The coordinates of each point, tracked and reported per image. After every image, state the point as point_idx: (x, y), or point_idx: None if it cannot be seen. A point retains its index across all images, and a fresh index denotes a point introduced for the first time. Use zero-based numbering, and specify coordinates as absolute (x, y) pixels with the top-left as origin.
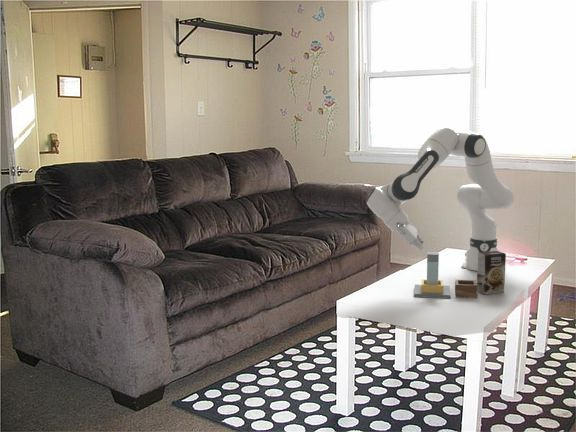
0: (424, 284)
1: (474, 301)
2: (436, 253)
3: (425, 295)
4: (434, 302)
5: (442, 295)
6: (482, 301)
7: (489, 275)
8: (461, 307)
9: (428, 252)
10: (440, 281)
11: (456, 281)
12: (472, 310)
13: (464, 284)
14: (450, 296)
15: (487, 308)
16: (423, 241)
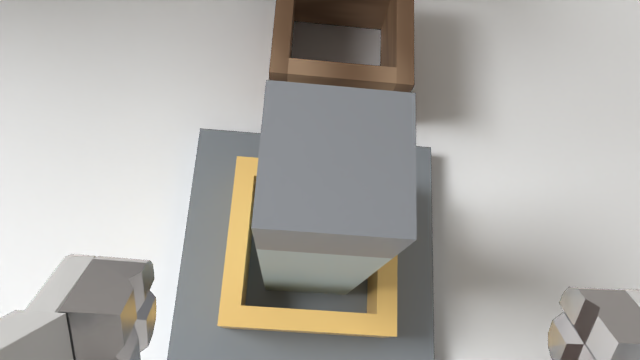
0: (382, 309)
1: (463, 40)
2: (344, 112)
3: (431, 309)
4: (533, 258)
5: (430, 196)
6: (455, 3)
7: None
8: (592, 118)
9: (288, 213)
10: (254, 178)
11: (323, 70)
12: (628, 73)
13: (398, 33)
14: (428, 151)
15: (573, 3)
16: (88, 258)
